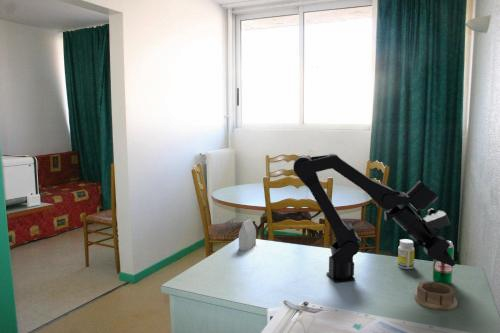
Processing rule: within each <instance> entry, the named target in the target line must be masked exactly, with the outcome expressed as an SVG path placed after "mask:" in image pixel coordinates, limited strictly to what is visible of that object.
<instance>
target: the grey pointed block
mask: <svg viewBox="0 0 500 333" xmlns="http://www.w3.org/2000/svg"><path fill="white" fill-rule="evenodd" d="M253 222H254V221H253V218H249V219H247V220H245V221H243V222H241V223H242V224H241V227H240V230H239V232H238V250H242V251H249V250H251V249H252V248H254V247H255V246H257V229H256V226H255V224H254V223H253Z"/></svg>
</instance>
